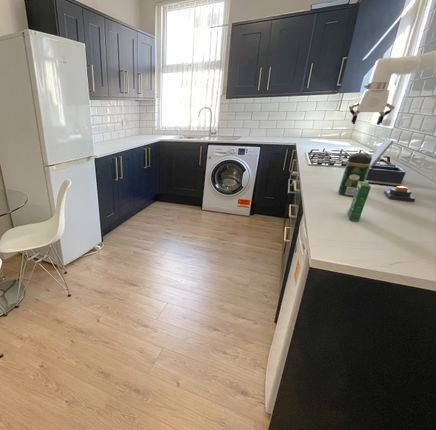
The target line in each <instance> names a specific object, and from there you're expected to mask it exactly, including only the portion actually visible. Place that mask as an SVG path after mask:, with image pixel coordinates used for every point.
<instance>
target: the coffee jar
mask: <svg viewBox="0 0 436 430" xmlns="http://www.w3.org/2000/svg"><path fill="white" fill-rule="evenodd" d="M371 156H372V155H370V154H369V153H364V152H356V153H352V154H350V155H349V157H348V159H347V162H346V165H345V168H344V171H343V175H342V177H341V181H340V185H339V188H338V194H339V195H342V196H345V197H354V194H355V191H356V188H357V185H358V182H359V181H362V182H364V181H365V182H366V180H365V178H366V175H367V172H368V169H369V166H370V163H371V160H372V157H371Z"/></svg>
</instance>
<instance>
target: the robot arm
mask: <svg viewBox="0 0 436 430" xmlns="http://www.w3.org/2000/svg"><path fill="white" fill-rule="evenodd" d="M434 69H436V50H432V51H427V52H425V53H420V54H416V55H407V56H405V55H404V56H399V57H382V58H378V59H377V60H376V61H375V63H374V65H373V68H372V73H371V75H370V78H369V80H368V81H369V82H368V83H367V84H364V85H363V88H364V89H366V90H364V91H363V93H362V95H361V98H360V100H359V102H357V103H354V104H351V105H349V106H348V110H349V112H350V113H351V115H352V119H351V123H352V125H356V122H357V120H358V119H357V118H358V114H360V113H379V116H378V119H377V122H376V125H377V126H380V125H381V124H383V120H384V118H385V117H386V116H387V115H389V114H390V113H391V112H392V111H393V110H394V109H395V108H396V107H395V106H394V105H392V104H390V103H388V100H389V96H390V90H389V86H390V83H391V81H392V77H393V74H394V75H396V76H407V75H411V74H415V73H420V72H425V71H429V70H434ZM356 107H357V109H356V111H354V108H356ZM386 108H388V110H386ZM385 110H386V111H385Z"/></svg>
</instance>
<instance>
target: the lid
mask: <svg viewBox="0 0 436 430" xmlns="http://www.w3.org/2000/svg"><path fill="white" fill-rule="evenodd" d="M394 143H395V140H393V139H390V138H388V137H386V138H385V139H384V140H383V141H382V142H381V144H380V145H379V146H378V148H376V150H375V151H374V152H373V153H372V155H370V156H371V157H372V160H371V163H370V166H369V168H371V167H372V166H373V165H376V163H377V162H378V161H379V160H380V158H381V157H382V156H383V155H384V154H385V153H386V152H387V150H388V149H389V148H390V147H391V146H392V144H394Z"/></svg>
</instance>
